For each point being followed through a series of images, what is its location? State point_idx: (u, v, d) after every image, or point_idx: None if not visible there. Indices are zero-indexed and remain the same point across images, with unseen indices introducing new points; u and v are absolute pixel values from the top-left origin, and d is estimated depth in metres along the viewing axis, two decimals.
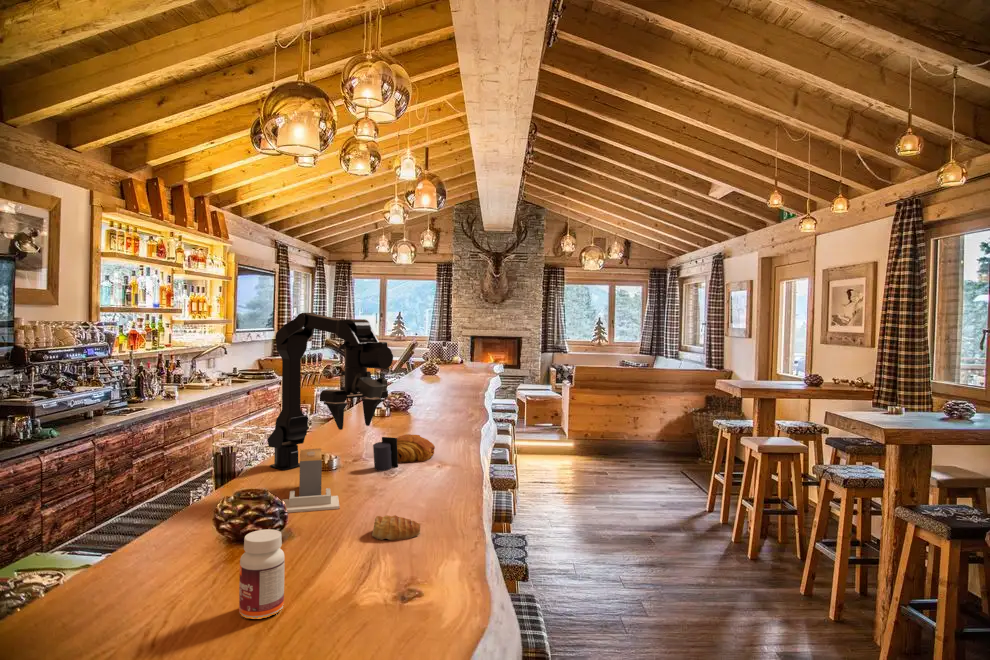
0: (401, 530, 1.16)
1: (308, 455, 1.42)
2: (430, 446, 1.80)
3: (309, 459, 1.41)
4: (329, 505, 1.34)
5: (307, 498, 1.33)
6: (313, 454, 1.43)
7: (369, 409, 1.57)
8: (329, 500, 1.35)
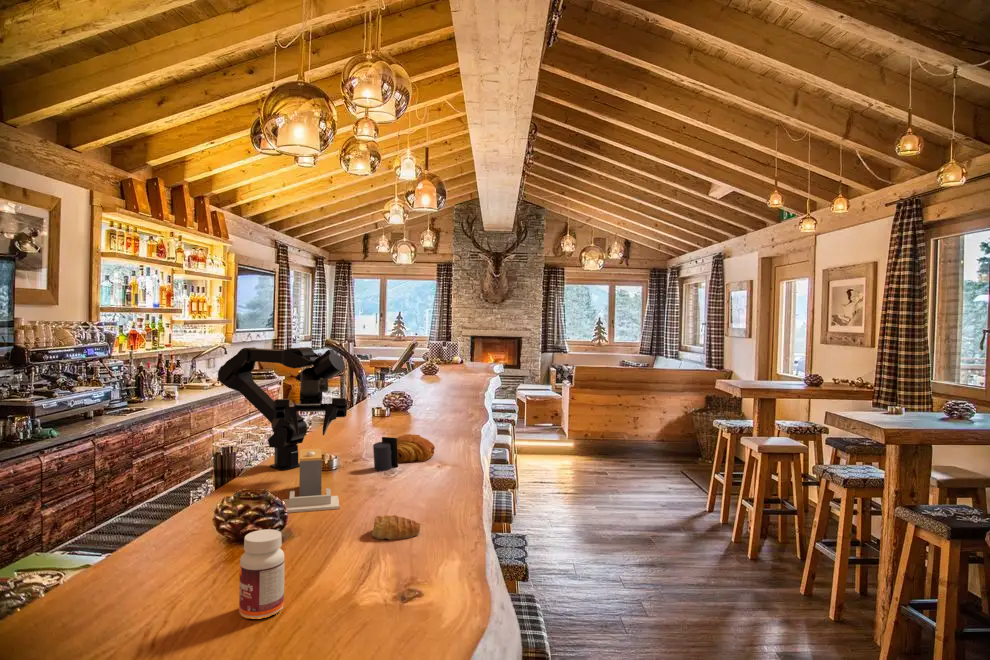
0: (401, 530, 1.16)
1: (308, 455, 1.42)
2: (430, 446, 1.80)
3: (309, 459, 1.40)
4: (329, 505, 1.34)
5: (307, 498, 1.33)
6: (313, 454, 1.43)
7: (324, 420, 1.56)
8: (329, 500, 1.35)
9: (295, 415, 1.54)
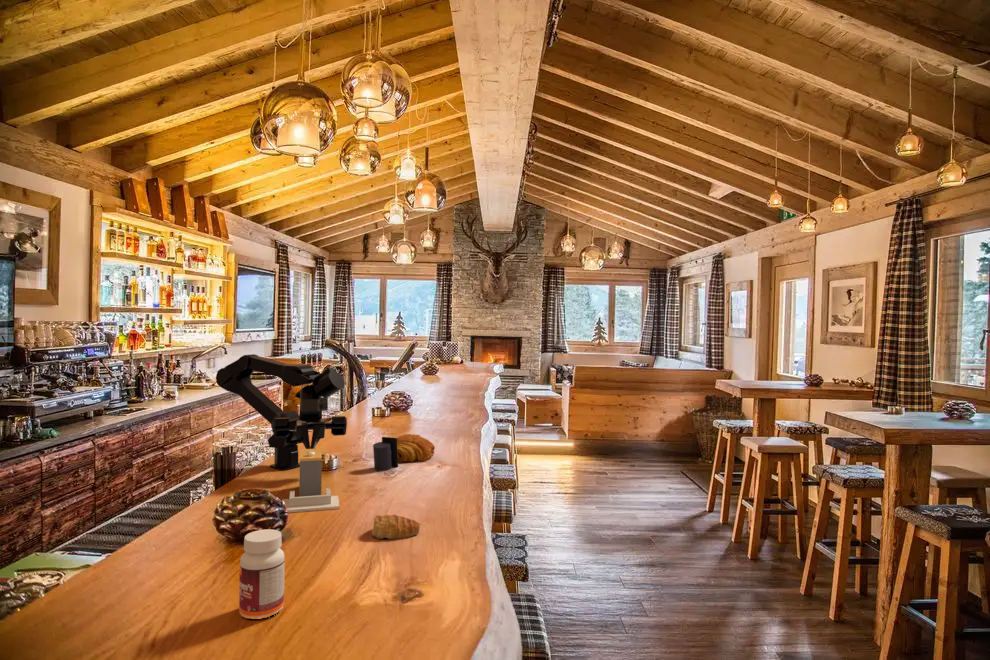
0: (400, 529, 1.16)
1: (308, 455, 1.42)
2: (430, 446, 1.80)
3: (309, 459, 1.41)
4: (329, 505, 1.34)
5: (307, 498, 1.33)
6: (313, 454, 1.43)
7: None
8: (329, 500, 1.35)
9: (307, 434, 1.55)
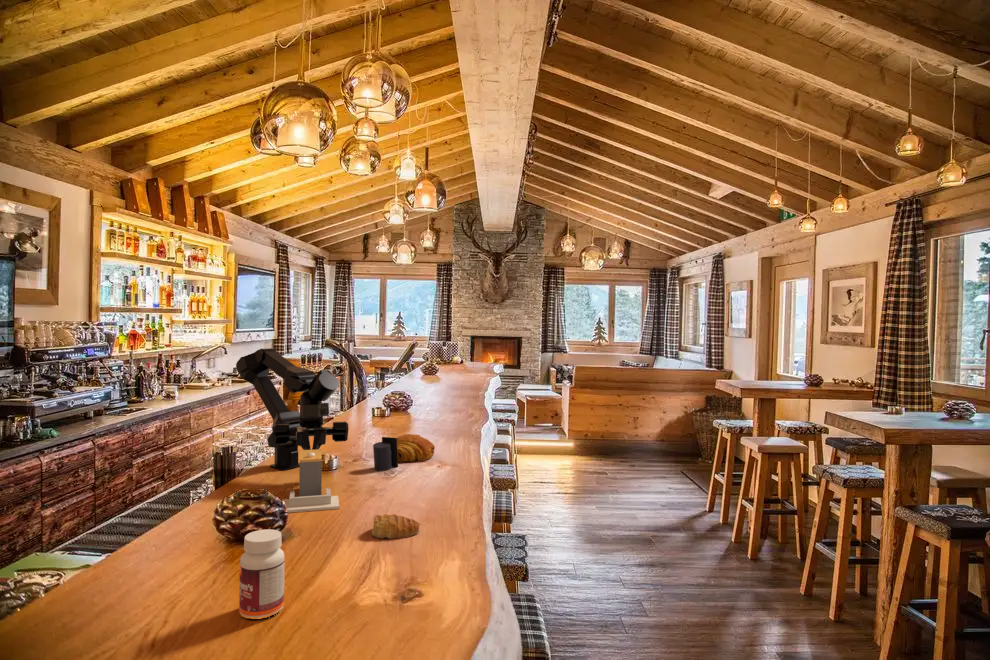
0: (400, 529, 1.17)
1: (308, 456, 1.41)
2: (430, 446, 1.80)
3: (309, 460, 1.39)
4: (329, 505, 1.34)
5: (307, 498, 1.33)
6: (313, 455, 1.41)
7: None
8: (329, 500, 1.35)
9: (308, 440, 1.51)
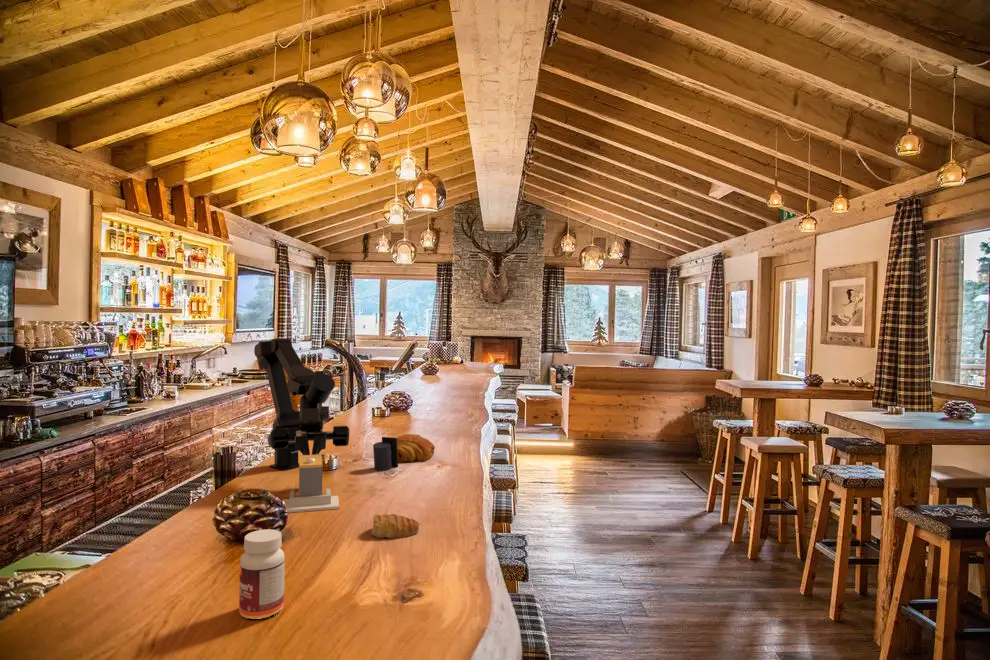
0: (400, 528, 1.17)
1: (308, 462, 1.36)
2: (430, 446, 1.80)
3: (309, 466, 1.34)
4: (329, 505, 1.34)
5: (307, 498, 1.33)
6: (313, 461, 1.36)
7: (312, 450, 1.47)
8: (329, 500, 1.35)
9: (307, 445, 1.46)
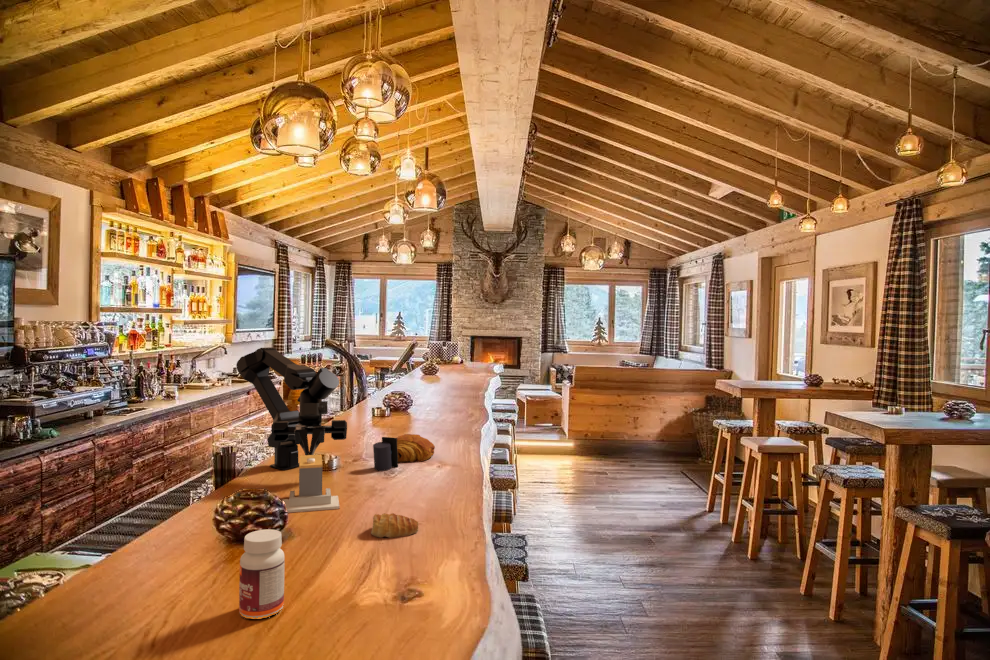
0: (400, 528, 1.17)
1: (308, 462, 1.36)
2: (430, 446, 1.81)
3: (309, 466, 1.34)
4: (329, 505, 1.34)
5: (307, 498, 1.33)
6: (313, 461, 1.36)
7: (311, 444, 1.52)
8: (329, 500, 1.35)
9: (306, 438, 1.51)
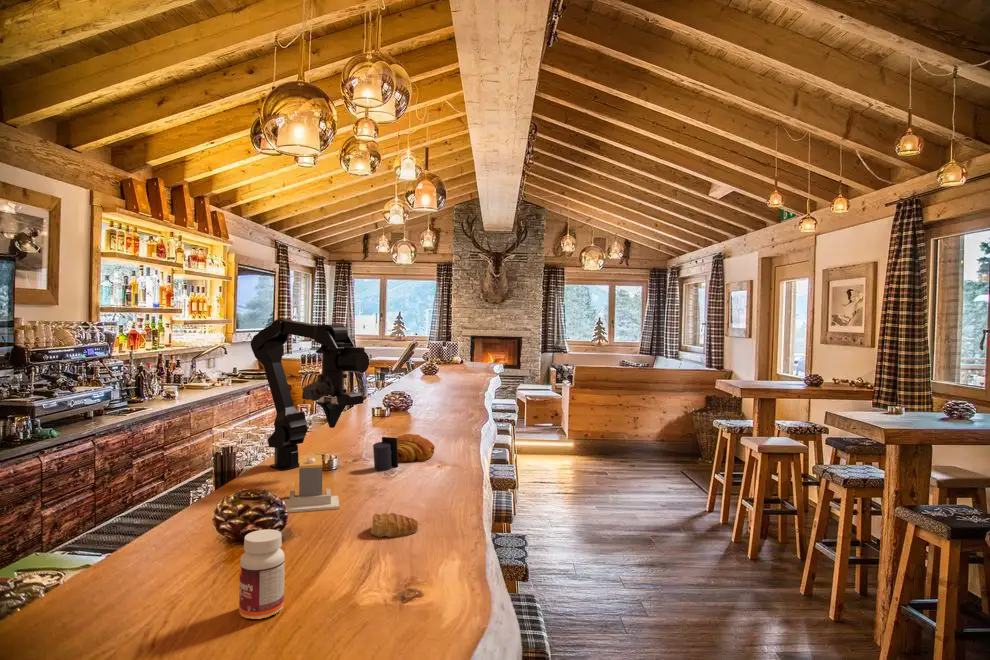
0: (400, 527, 1.18)
1: (308, 462, 1.36)
2: (430, 446, 1.81)
3: (309, 466, 1.34)
4: (329, 505, 1.34)
5: (307, 498, 1.33)
6: (313, 461, 1.36)
7: None
8: (329, 500, 1.35)
9: (325, 409, 1.60)
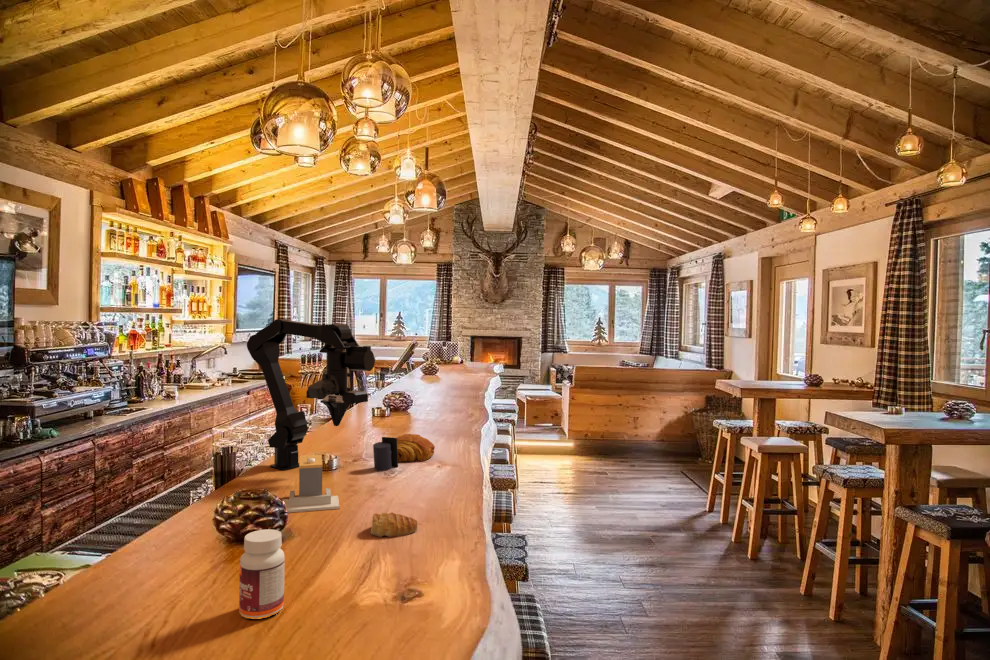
0: (399, 527, 1.18)
1: (308, 462, 1.36)
2: (430, 446, 1.81)
3: (309, 466, 1.34)
4: (329, 505, 1.34)
5: (307, 498, 1.33)
6: (313, 461, 1.36)
7: None
8: (329, 500, 1.35)
9: (330, 407, 1.62)
